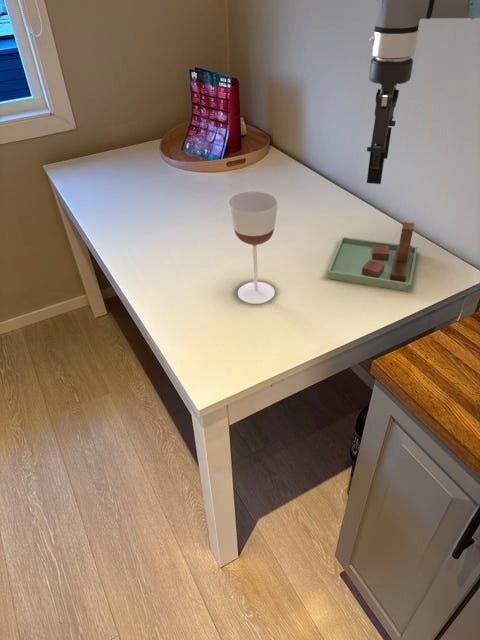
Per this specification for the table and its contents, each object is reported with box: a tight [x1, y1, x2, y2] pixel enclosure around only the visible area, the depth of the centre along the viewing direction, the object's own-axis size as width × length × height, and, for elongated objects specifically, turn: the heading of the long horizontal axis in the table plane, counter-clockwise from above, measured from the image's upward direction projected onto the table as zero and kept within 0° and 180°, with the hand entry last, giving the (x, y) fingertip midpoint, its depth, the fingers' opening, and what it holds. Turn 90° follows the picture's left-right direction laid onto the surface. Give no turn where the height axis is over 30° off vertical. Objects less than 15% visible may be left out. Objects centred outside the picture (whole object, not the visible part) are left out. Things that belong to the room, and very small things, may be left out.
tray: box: [326, 236, 419, 293], centre depth 119 cm, size 19×17×2 cm
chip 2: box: [362, 260, 385, 278], centre depth 116 cm, size 4×4×2 cm
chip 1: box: [371, 245, 389, 261], centre depth 122 cm, size 4×4×2 cm
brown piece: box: [390, 221, 415, 282], centre depth 114 cm, size 4×14×12 cm, turn 160°
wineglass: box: [228, 191, 278, 305], centre depth 106 cm, size 9×10×23 cm
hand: (377, 169), depth 102 cm, fingers open, 13 cm apart
